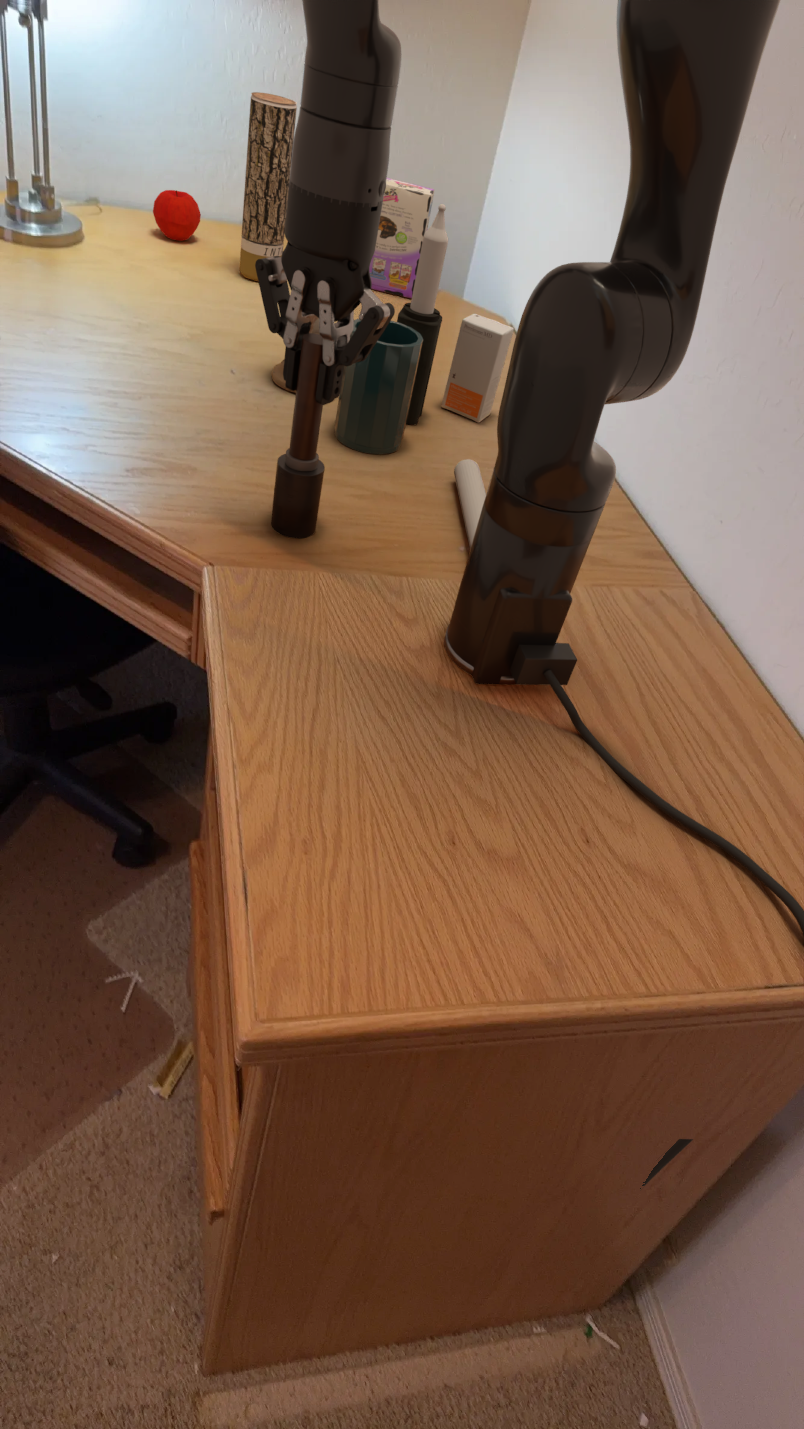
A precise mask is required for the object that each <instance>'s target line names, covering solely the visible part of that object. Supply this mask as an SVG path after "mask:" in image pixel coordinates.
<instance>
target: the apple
mask: <svg viewBox="0 0 804 1429" xmlns="http://www.w3.org/2000/svg"><path fill="white" fill-rule="evenodd" d="M152 214H153V218H154V220H155V223H156V225H157V227H158V228H159V230H160V232H162V234H163V235H164V236H165V237H166V238H168V239H170V240H172V241H177V242H180V241H181V242H183V241H187V240H189V239H190V238H191V237H192V236H193V235H194V234H195V232H196V231H197V229H198V227H199V225H200V223H201V218H202V217H201V215H202V214H201V211H200V208H199V204H198V202H197V201H196V200H195V198H194V196H192V195H191V194H189V193H188V192H186V191H181V190H176V189H175V190H174V189H166V190H163V191H160V193H159V194H158V195H157V196H156V198H155V199H154V202H153V208H152Z"/></svg>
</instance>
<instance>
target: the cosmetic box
mask: <svg viewBox="0 0 804 1429" xmlns="http://www.w3.org/2000/svg"><path fill="white" fill-rule="evenodd" d="M514 331H515V328H514V327H512V326H509V325H507V324H504V323H502V322H499V321H498V320H495V319H492V318H488V317H485V316H483V315H480V314H477V313H475V312H474V313H472V314H470V315H468V316H466V317H464V318H462V320H461V323H460V327H459V332H458V336H457V338H456V339H457V340H456V344H455V348H454V352H453V356H452V361H451V364H450V369H449V373H448V377H447V381H446V384H445V388H444V393H443V398H442V402H441V408H443V409H446V410H449V411H451V412H453V413H456V414H458V415H460V416H463V417H464V418H467V419H470V420H472V421H474V422H476V423H480V422H482V421H483V420H484V419H486V418H487V417H489V416H490V415H491V412H492V409H493V406H494V402H495V400H496V394H497V391H498V388H499V386H500V385H499V384H500V381H501V378H502V373H503V370H504V366H505V362H506V359H507V356H508V352H509V348H510V345H511V342H512V339H513V335H514Z"/></svg>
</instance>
